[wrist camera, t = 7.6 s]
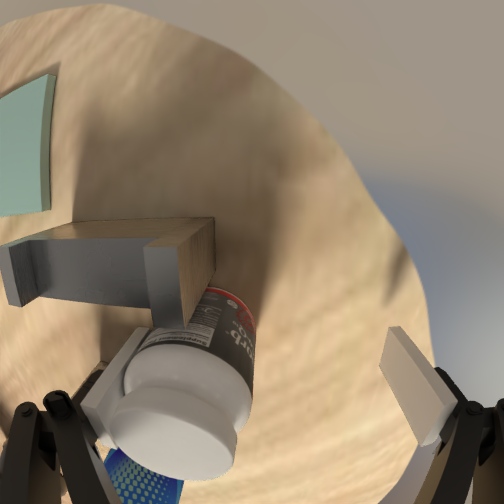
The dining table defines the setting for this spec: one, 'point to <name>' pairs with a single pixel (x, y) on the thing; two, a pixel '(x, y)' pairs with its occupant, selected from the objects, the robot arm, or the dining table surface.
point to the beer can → (140, 481)
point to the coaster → (26, 147)
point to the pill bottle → (190, 392)
